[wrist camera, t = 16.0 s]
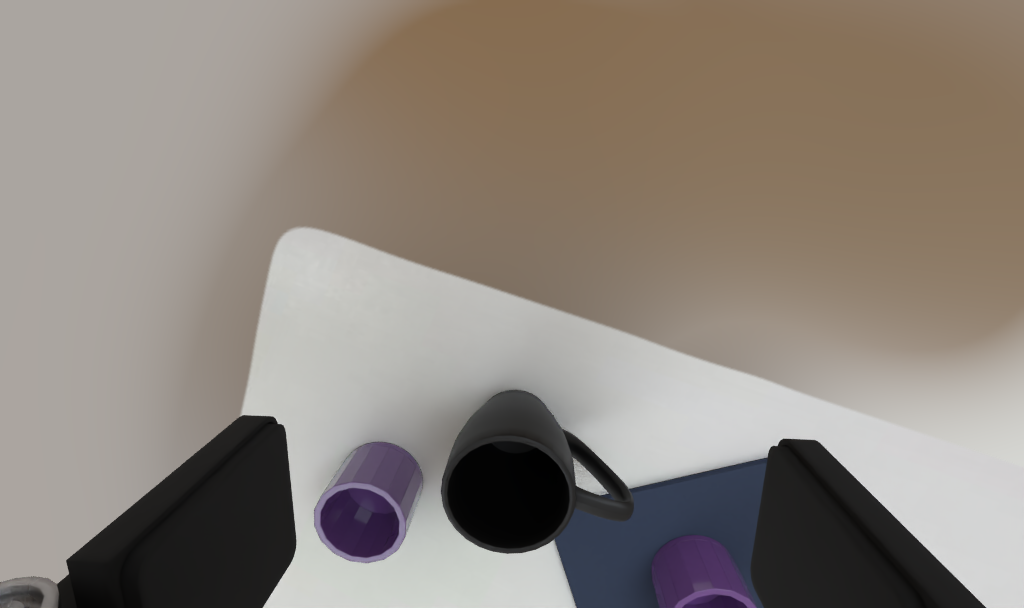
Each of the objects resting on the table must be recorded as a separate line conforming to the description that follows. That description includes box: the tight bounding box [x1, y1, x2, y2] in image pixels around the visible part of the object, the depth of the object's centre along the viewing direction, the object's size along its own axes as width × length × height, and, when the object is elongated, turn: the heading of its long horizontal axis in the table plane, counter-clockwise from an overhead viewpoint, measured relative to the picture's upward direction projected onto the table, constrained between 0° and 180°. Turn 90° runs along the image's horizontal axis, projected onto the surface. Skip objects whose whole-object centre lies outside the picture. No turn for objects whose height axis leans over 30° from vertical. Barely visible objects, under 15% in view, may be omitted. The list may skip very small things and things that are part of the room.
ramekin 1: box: [314, 442, 423, 563], centre depth 40 cm, size 7×7×6 cm
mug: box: [441, 390, 634, 554], centre depth 36 cm, size 8×12×10 cm
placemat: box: [555, 458, 768, 608], centre depth 43 cm, size 20×16×1 cm
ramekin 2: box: [651, 535, 758, 608], centre depth 40 cm, size 7×7×6 cm
